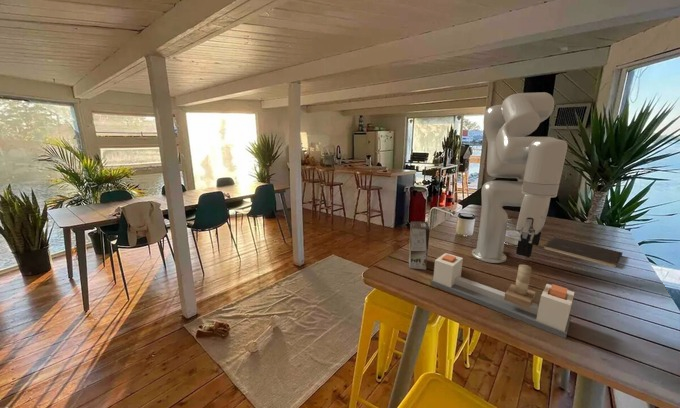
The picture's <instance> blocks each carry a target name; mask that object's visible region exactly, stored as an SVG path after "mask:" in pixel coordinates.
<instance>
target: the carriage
mask: <svg viewBox="0 0 680 408" xmlns="http://www.w3.org/2000/svg"><path fill="white" fill-rule="evenodd" d="M532 269H533V268H532V267H531V266H530V265H527V264H518V269H517V273H516V280H515V284H513V283H511V284H510V286H509V287H508V288H507V290H506V292H505V297H504V300H506V301H509V302H512V303H515V304H517V305H520V306H523V307H525V308H528V309H529V308H530V306H531V304H532V302H533V303H534V300H535V297H536V293H537V292H536V291H534V290H532V289H529V284H530V280H531V275H532Z"/></svg>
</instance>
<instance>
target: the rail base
mask: <svg viewBox="0 0 680 408" xmlns="http://www.w3.org/2000/svg"><path fill="white" fill-rule="evenodd" d="M446 254H447V255H450V256H454V257H456V261H455V262H453V263H451V262H448V261H444V260H442V257H444V256H445V255H446ZM463 259H464V258H463V257H461V256H457V255H454V254H450V253H447V252H445V253H443V254H441V255H440V256H439V257H437V258H436V259H435V260H434V267H433V278H432V279H431V280H430V285H431V286H432V287H436V288H437V289H441V290H443V291H446V292H448V293H451V294H453V295H456V296H458V297H461V298H464V299H466V300H468V301H470V302H473V303H476V304H479V305H480V306H483V307H486V308H488V309H491V310H493V311H496V312H498V313H501V314H503V315H506V316H508V317H510V318H512V319H516V320H518V321H520V322H523V323H526V324H528V325H531V326H533V327H536V328H538V329H540V330H543V331H546V332H547V333H551V334H553V335H555V336H558V337H561V338H563V339H566V338H567V335H568V331H569V327H570V324H571V319H572V316H571V315H570V312H571V309H572V304H573V300H574V296H575V291H572V290H569V289H568V290H567V294H566V299H565V300H564V299H561V298H558V297H555V296H552V295H549V294H550V289H551V287H552V284H549V283H546V284H545V287H544V289H543V291H542V292H541V293H542V294H540V299H539V303H536V302H534V301H533V302H532V304H531V306H530V308H529V309H528V308H525V307H523V306H520V305H517V304H515V303H512V302H509V301H506V300H504V297H505V293H506V292H505V291H502V290H499V289H496V288H494V287H491V286H488V285H485V284H482V283H479V282H477V281H473V280H470V279H468V278H465V277H463V276H462V269H463Z"/></svg>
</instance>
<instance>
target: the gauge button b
mask: <svg viewBox="0 0 680 408" xmlns="http://www.w3.org/2000/svg"><path fill="white" fill-rule="evenodd" d="M551 285H552V287H551V289H550V294H549V295H552V296H555V297H558V298H561V299H564V300H565V299H566V294H567V290H569V289H568V288H567V287H563V286H559V285H557V284H553V283H552V284H551Z"/></svg>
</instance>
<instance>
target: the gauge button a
mask: <svg viewBox="0 0 680 408" xmlns="http://www.w3.org/2000/svg"><path fill="white" fill-rule="evenodd" d="M454 256H455V255H454ZM454 256H450V255H447V254H446V255H445V256H444V257H442V260H444V261H448V262H451V263H453V262H455V261H456V257H454Z"/></svg>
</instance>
